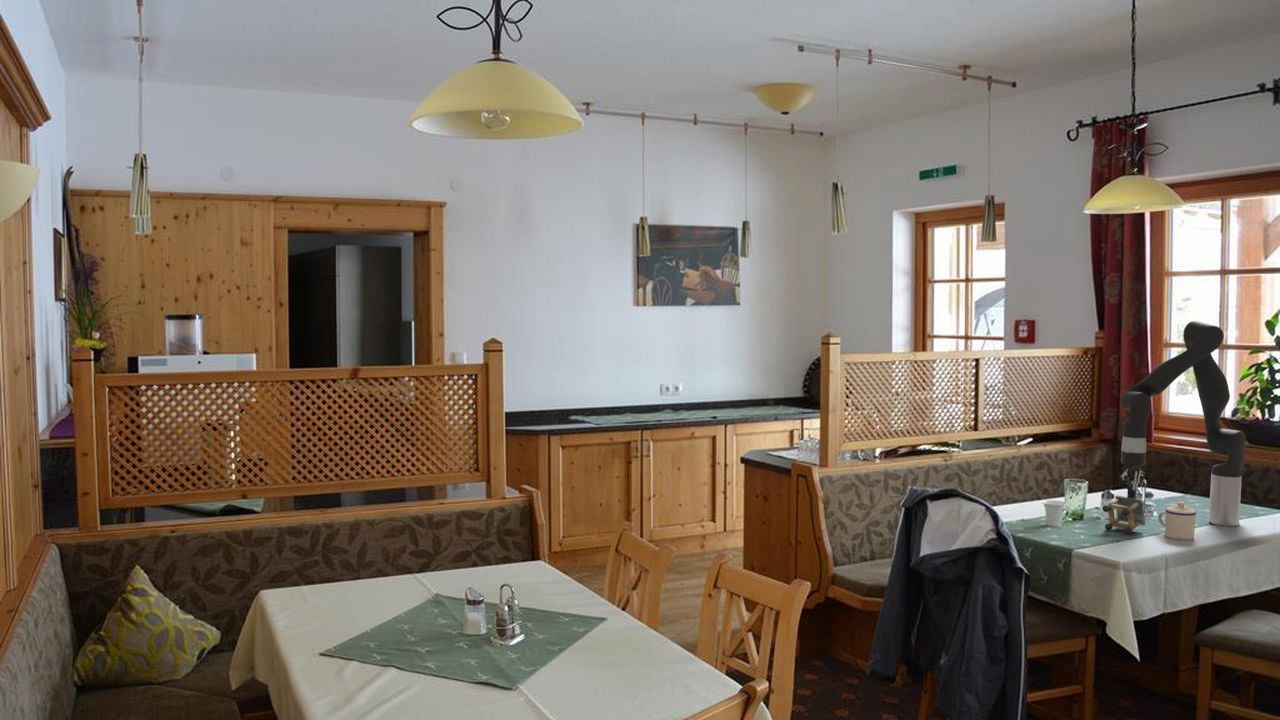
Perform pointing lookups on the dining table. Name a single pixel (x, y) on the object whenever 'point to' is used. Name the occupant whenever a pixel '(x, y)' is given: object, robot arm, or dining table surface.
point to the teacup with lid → (1179, 522)
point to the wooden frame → (1125, 513)
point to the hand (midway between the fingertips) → (1131, 500)
